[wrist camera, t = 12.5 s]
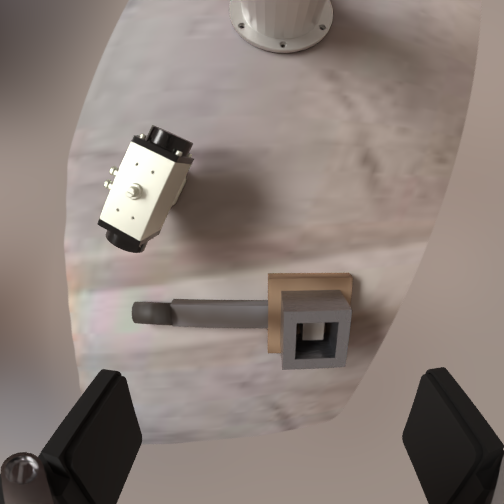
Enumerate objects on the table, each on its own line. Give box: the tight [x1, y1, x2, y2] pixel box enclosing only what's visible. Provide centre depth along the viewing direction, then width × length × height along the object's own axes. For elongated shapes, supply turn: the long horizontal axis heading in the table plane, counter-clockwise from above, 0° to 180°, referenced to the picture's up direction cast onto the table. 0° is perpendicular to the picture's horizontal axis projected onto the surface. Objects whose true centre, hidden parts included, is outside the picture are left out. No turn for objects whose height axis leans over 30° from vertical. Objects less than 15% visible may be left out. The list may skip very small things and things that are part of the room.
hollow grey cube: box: [280, 290, 352, 370], centre depth 36 cm, size 7×7×6 cm
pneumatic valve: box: [98, 125, 194, 253], centre depth 32 cm, size 6×12×12 cm, turn 152°
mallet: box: [132, 273, 353, 353], centre depth 38 cm, size 10×27×6 cm, turn 91°
